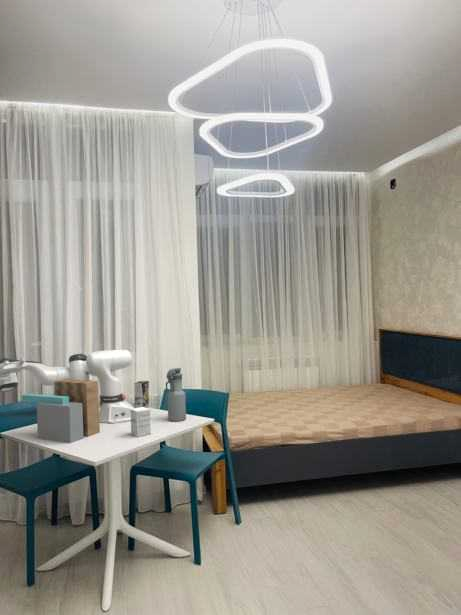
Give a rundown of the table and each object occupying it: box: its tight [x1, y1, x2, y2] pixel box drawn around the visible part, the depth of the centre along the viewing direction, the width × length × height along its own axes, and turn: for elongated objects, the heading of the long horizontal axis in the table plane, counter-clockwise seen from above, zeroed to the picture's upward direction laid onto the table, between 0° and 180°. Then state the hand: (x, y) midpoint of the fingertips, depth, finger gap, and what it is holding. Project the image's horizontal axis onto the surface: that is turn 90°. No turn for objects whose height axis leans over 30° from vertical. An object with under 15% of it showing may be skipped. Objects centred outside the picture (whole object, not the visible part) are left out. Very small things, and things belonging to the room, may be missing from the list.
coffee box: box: [133, 380, 150, 408], centre depth 287 cm, size 9×6×16 cm
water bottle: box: [165, 367, 187, 423], centre depth 252 cm, size 10×10×28 cm
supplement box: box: [130, 407, 152, 438], centre depth 224 cm, size 7×7×13 cm
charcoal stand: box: [36, 402, 84, 444], centre depth 222 cm, size 22×8×17 cm, turn 63°
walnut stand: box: [53, 379, 101, 438], centre depth 232 cm, size 22×8×26 cm, turn 63°
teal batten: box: [21, 393, 69, 404], centre depth 227 cm, size 28×4×3 cm, turn 64°
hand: (15, 361), depth 239 cm, fingers open, 8 cm apart
